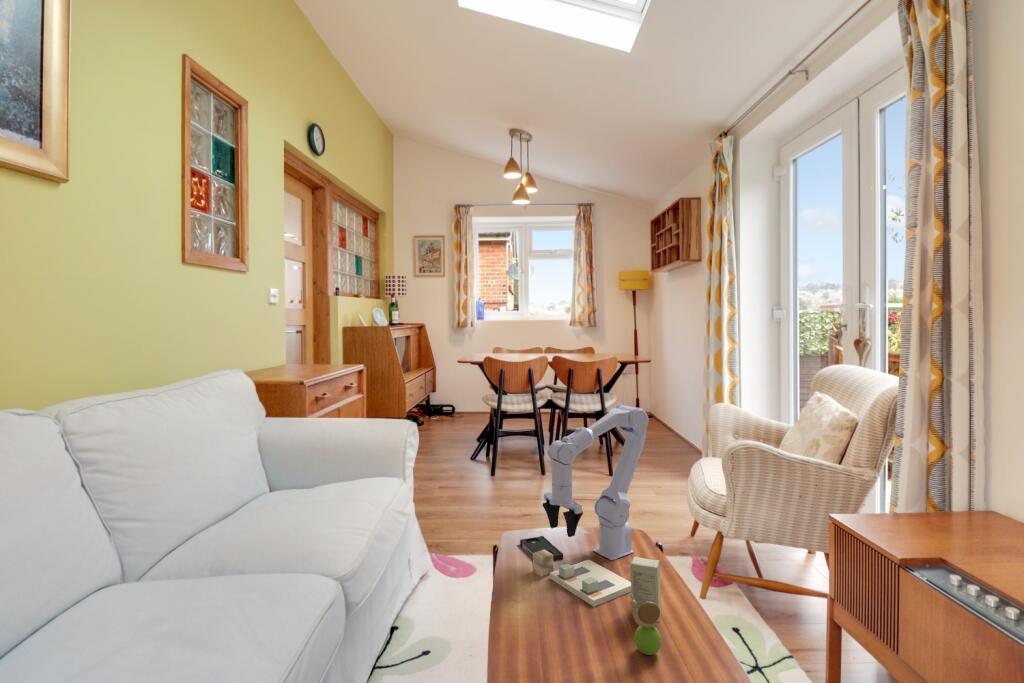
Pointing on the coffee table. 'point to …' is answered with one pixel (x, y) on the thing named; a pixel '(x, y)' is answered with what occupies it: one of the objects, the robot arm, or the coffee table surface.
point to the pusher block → (542, 562)
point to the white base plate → (607, 580)
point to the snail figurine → (646, 627)
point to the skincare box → (645, 581)
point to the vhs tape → (540, 547)
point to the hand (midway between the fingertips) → (562, 531)
